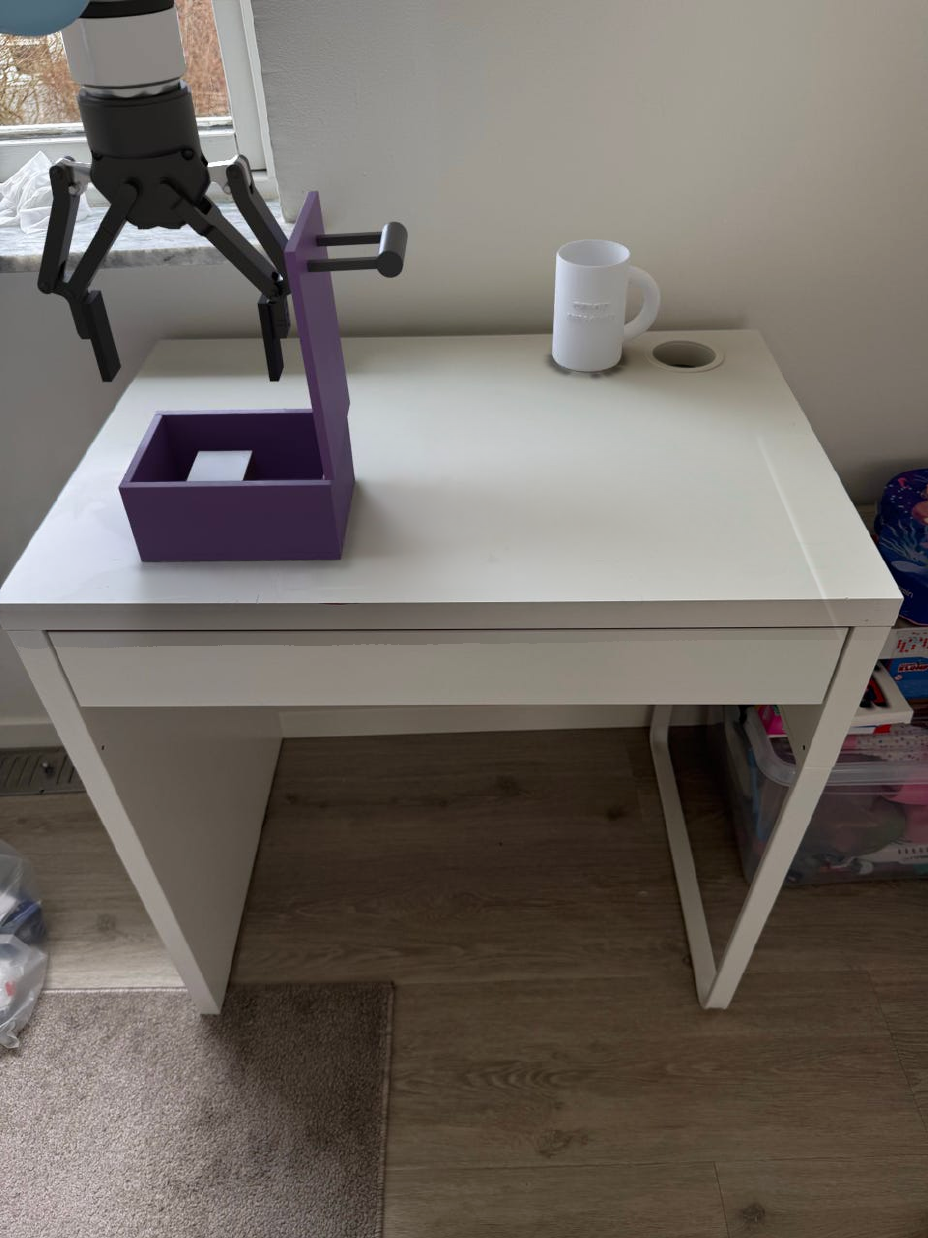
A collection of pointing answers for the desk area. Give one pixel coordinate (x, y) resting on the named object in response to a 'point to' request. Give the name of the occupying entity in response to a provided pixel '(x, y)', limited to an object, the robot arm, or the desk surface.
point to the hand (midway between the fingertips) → (194, 374)
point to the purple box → (237, 489)
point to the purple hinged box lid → (330, 313)
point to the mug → (597, 304)
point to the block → (224, 466)
